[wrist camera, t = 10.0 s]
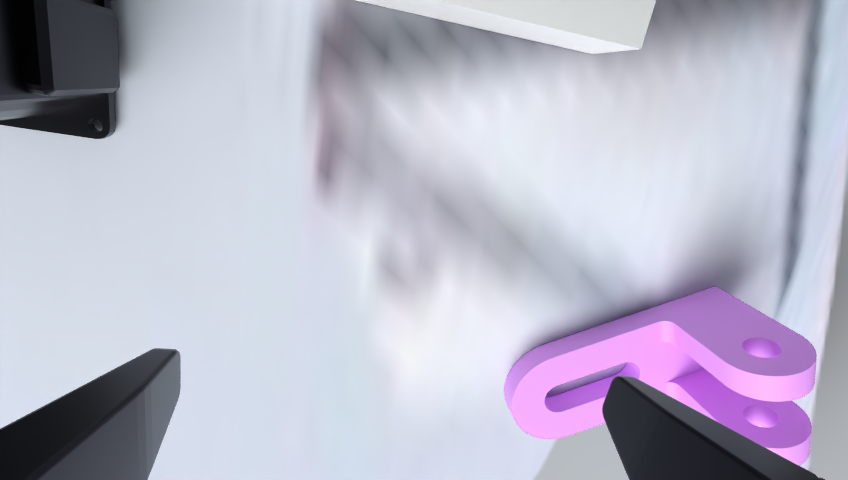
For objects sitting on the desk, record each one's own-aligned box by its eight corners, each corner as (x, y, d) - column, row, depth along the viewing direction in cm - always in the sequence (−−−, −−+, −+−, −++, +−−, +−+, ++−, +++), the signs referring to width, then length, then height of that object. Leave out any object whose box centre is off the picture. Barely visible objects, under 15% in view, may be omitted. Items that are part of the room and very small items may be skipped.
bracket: (713, 285, 25) (841, 358, 18) (716, 363, 27) (832, 454, 20) (493, 359, 24) (545, 461, 18) (514, 433, 26) (566, 549, 20)
